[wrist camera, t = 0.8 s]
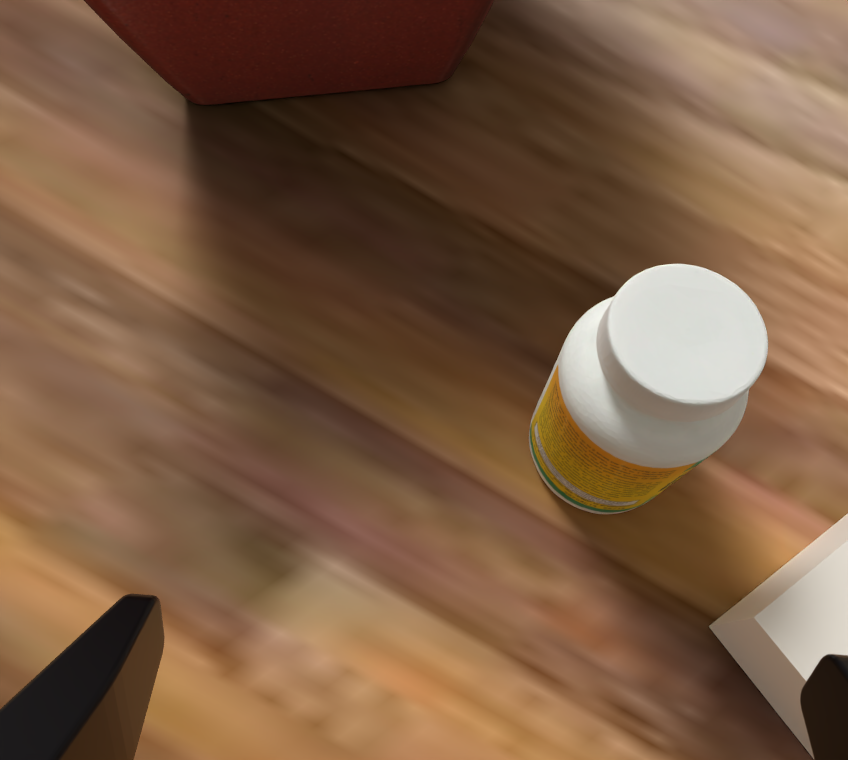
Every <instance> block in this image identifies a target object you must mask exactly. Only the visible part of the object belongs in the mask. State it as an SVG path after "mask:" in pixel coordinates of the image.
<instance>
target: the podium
mask: <svg viewBox="0 0 848 760" xmlns="http://www.w3.org/2000/svg"><path fill="white" fill-rule="evenodd" d="M708 627H709V628H710V629H711V630H712V632H713V633H714V634H715V635H716V637H717V638H718V639H719V640H720V642H721V643H722V644H723V645H724V647H725V648H726V649H727V650H728V652H729V653H730V654H731V655H732V657H733V658H734V659H735V661H736V662H737V663H738V664H739V666H740V667H741V668H742V669H743V671H744V672H745V673H746V674H747V676H748V677H749V678H750V679H751V681H752V682H753V683H754V684H755V686H756V687H757V688H758V690H759V691H760V692H761V693H762V695H763V696H764V697H765V698H766V700H767V701H768V702H769V703H770V705H771V706H772V707H773V708H774V710H775V711H776V712H777V713H778V715H779V716H780V717H781V718H782V720H783V721H784V722H785V724H786V725H787V726H788V727H789V729H790V730H791V731H792V732H793V734H794V735H795V736H796V737H797V739H798V740H799V741H800V742H801V744H802V745H803V746H804V747H805V749H806V750H807V751H808V753H809V754H810V755H811V756H812V758H813V759H814V756H813V752H812V748H811V744H810V740H809V737H808V733H807V729H806V725H805V721H804V717H803V714H802V710H801V704H800V695H801V690H802V688H803V686H804V684H805V683H806V681H807V680H808V678H809V677H810V675H811V674H812V672H813V671H814V669H815V667H816V666H817V664H818V663H819V661H820V660H821V659H822V657H824V656H825V655H827V654H838V655H848V514H847V515H845V516H844V517H843V518H842V519H840V520H839V521H838V522H837V523H835V524H834V525H833V526H832V527H830V528H829V529H828V530H827V531H826V532H824V533H823V534H822V535H821V536H819V537H818V538H817V539H816V540H814V541H813V542H812V543H811V544H810V545H808V546H807V547H806V548H805V549H803V550H802V551H801V552H800V553H798V554H797V555H796V556H795V557H794V558H792V559H791V560H790V561H789V562H787V563H786V564H785V565H784V566H782V567H781V568H780V569H779V570H777V571H776V572H775V573H774V574H773V575H771V576H770V577H769V578H768V579H766V580H765V581H764V582H763V583H761V584H760V585H759V586H758V587H757V588H755V589H754V590H753V591H752V592H750V593H749V594H748V595H747V596H745V597H744V598H743V599H742V600H740V601H739V602H738V603H737V604H736V605H734V606H733V607H732V608H731V609H729V610H728V611H727V612H726V613H724V614H723V615H722V616H721V617H720V618H718V619H717V620H716V621H715V622H713V623H712V624H711V625H710V626H708Z"/></svg>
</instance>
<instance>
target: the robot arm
mask: <svg viewBox="0 0 848 760" xmlns="http://www.w3.org/2000/svg"><path fill="white" fill-rule="evenodd" d="M163 648H164V629H163V621H162V613H161V605H160V601H159V599H158V598H157V597H156V596H153V595H141V594H128V595H125V596H123V597H122V598H121V599H119V600H118V601H117V602H116V603H115V604H114V605H113V606H112V607H111V608H110V609H109V610H108V611H106V612H105V613H104V614H103V615H102V616H101V617H100V618H99V619H98V620H97V621H96V622H94V623H93V624H92V625H91V626H90V627H89V628H88V629H87V630H86V631H85V632H84V633H83V634H81V635H80V636H79V637H78V638H77V639H76V640H75V641H74V642H73V643H72V644H71V645H69V646H68V647H67V648H66V649H65V650H64V651H63V652H62V653H61V654H60V655H59V656H58V657H56V658H55V659H54V660H53V661H52V662H51V663H50V664H49V665H48V666H47V667H46V668H44V669H43V670H42V671H41V672H40V673H39V674H38V675H37V676H36V677H35V678H34V679H33V680H31V681H30V682H29V683H28V684H27V685H26V686H25V687H24V688H23V689H22V690H21V691H19V692H18V693H17V694H16V695H15V696H14V697H13V698H12V699H11V700H10V701H9V702H8V703H6V704H5V705H4V706H3V707H2V708H1V709H0V760H133V759H134V756H135V752H136V749H137V745H138V741H139V738H140V734H141V730H142V727H143V723H144V719H145V716H146V712H147V708H148V705H149V701H150V697H151V694H152V690H153V686H154V683H155V679H156V675H157V672H158V668H159V664H160V661H161V657H162V653H163ZM800 704H801V710H802V714H803V717H804V721H805V725H806V729H807V733H808V737H809V740H810V744H811V748H812V752H813V756H814V760H848V655H838V654H827V655H825V656H824V657H822V659H821V660H820V661H819V663H818V664H817V666H816V667H815V669H814V671H813V672H812V674H811V675H810V677H809V678H808V680H807V681H806V683H805V684H804V686H803V688H802V690H801V695H800Z"/></svg>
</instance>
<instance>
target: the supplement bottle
mask: <svg viewBox="0 0 848 760" xmlns="http://www.w3.org/2000/svg"><path fill="white" fill-rule="evenodd" d="M767 353H768V337H767V331H766V327H765V324H764V321H763V319H762V317H761V315H760V313H759V311H758V309H757V307H756V305H755V304H754V303H753V301H752V300H751V299H750V297H749V296H748V295H747V294H746V293H745V292H744V291H743V290H742V289H740V288H739V287H738V286H737V285H736V284H734V283H733V282H731V281H730V280H729V279H727V278H725V277H723V276H721V275H720V274H718V273H715V272H713V271H710V270H708V269H705V268H702V267H699V266H693V265H686V264H667V265H659V266H655V267H652V268H649V269H646V270H644V271H642V272H640V273H638V274H636V275H635V276H633V277H632V278H630V279H629V280H628V281H627V282H626V283H625V284H624V285H623V286H622V287H621V288H620V289H619V291H618V292H617V293H616V295H615V296H613V297H611V298H608V299H606V300H604V301H602V302H600V303H598V304H597V305H595V306H594V307H592V308H591V309H590V310H588V311H587V312H586V313H585V314H584V315H583V316H582V317H581V318H580V319H579V320H578V321H577V322H576V324H575V325H574V326H573V328H572V329H571V331H570V332H569V334H568V336H567V338H566V340H565V342H564V344H563V347H562V349H561V351H560V354H559V356H558V358H557V361H556V363H555V365H554V367H553V370H552V372H551V375H550V377H549V379H548V381H547V383H546V386H545V388H544V390H543V392H542V395H541V397H540V399H539V400H538V403H537V406H536V408H535V411H534V413H533V416H532V419H531V423H530V429H529V447H530V451H531V455H532V458H533V461H534V464H535V466H536V468H537V471H538V472H539V474H540V476H541V478H542V479H543V481H544V482H545V483H546V485H547V486H548V487H549V488H550V489H551V490H552V491H553V492H554V493H555V494H556V495H557V496H558V497H559V498H561V499H562V500H564V501H565V502H567V503H569V504H570V505H572V506H574V507H576V508H578V509H581V510H584V511H587V512H591V513H596V514H617V513H622V512H626V511H629V510H632V509H635V508H637V507H639V506H642V505H643V504H645V503H647V502H649V501H650V500H651V499H653V498H654V497H656V496H657V495H658V494H660V493H661V492H662V491H664V490H665V489H666V488H668V487H669V486H670V485H671V484H673V483H674V482H676V481H677V480H679V479H680V478H681V477H682V476H683V475H685V474H686V473H687V472H689V471H690V470H691V469H693V468H694V467H695V466H697V465H698V464H699V463H701V462H702V461H703V460H705V459H706V458H708V457H709V456H710V455H711V454H713V453H714V452H715V451H717V450H718V449H719V448H720V447H721V446H722V445H723V444H724V443H725V442H726V441H727V440H728V439H729V438H730V437H731V436H732V434H733V433H734V432H735V430H736V429H737V427H738V425H739V424H740V422H741V420H742V418H743V415H744V412H745V409H746V405H747V401H748V394H749V389H750V387H751V386H752V385H753V384H754V383H755V381H756V380H757V379H758V377H759V375H760V374H761V372H762V370H763V368H764V365H765V362H766V358H767Z"/></svg>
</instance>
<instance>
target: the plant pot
mask: <svg viewBox="0 0 848 760" xmlns="http://www.w3.org/2000/svg"><path fill="white" fill-rule="evenodd" d="M84 1H85V2H86V3H87V4H88V5H89V6H90V7H91V8H92V9H93V10H94V11H95V12H96V14H97V15H98V16H99V17H100V18H101V19H102V20H103V21H104V22H105V23H106V24H107V25H108V26H109V27H110V28H111V29H112V30H113V31H114V32H115V33H116V34H117V35H118V36H119V37H120V38H121V39H122V40H123V41H124V42H125V43H126V44H127V45H128V46H129V47H130V48H131V49H132V50H133V51H134V52H136V53H137V54H138V55H139V56H140V57H141V58H142V59H143V60H144V61H145V62H146V63H147V64H148V65H149V66H150V67H151V68H152V69H153V70H155V71H156V72H157V73H158V74H159V75H160V76H161V77H162V78H163V79H164V80H165V81H166V82H167V83H168V84H170V85H171V86H172V87H173V88H174V89H176V90H177V91H178V92H179V93H181V94H182V95H183V96H184V97H185V98H187V99H188V100H189V101H191V102H193V103H196V104H200V105H211V104H223V103H233V102H243V101H253V100H264V99H274V98H285V97H295V96H306V95H317V94H327V93H338V92H349V91H359V90H369V89H380V88H389V87H399V86H409V85H420V84H432V83H438V82H441V81H444V80H446V79H448V78H450V77H451V76H452V74H453V73H454V71H455V69H456V68H457V66H458V65H459V63H460V61H461V60H462V58H463V56H464V55H465V53H466V52H467V50H468V48H469V47H470V45H471V43H472V41H473V39H474V38H475V36H476V34H477V32H478V30H479V28H480V27H481V25H482V23H483V21H484V19H485V17H486V16H487V14H488V12H489V10H490V8H491V6H492V4H493V2H494V0H84Z"/></svg>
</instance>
